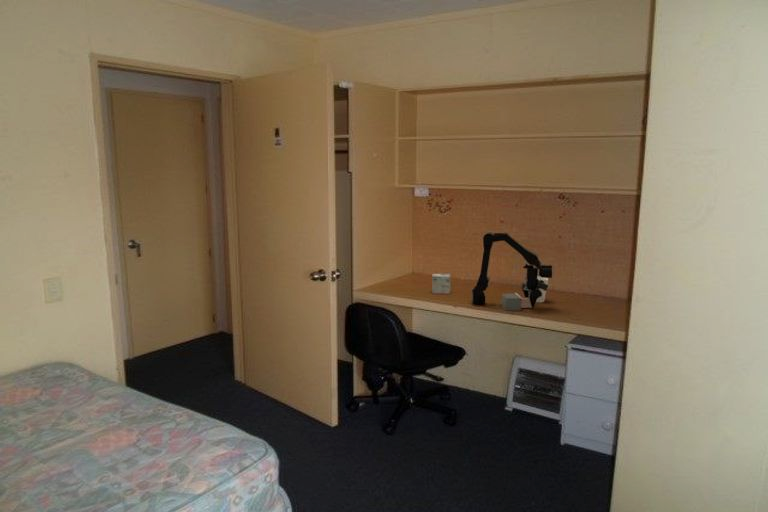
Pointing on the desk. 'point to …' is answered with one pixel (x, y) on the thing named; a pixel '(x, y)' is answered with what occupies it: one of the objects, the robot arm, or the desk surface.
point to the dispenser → (511, 302)
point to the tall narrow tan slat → (525, 303)
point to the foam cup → (541, 299)
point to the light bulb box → (441, 283)
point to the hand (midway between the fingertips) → (530, 305)
